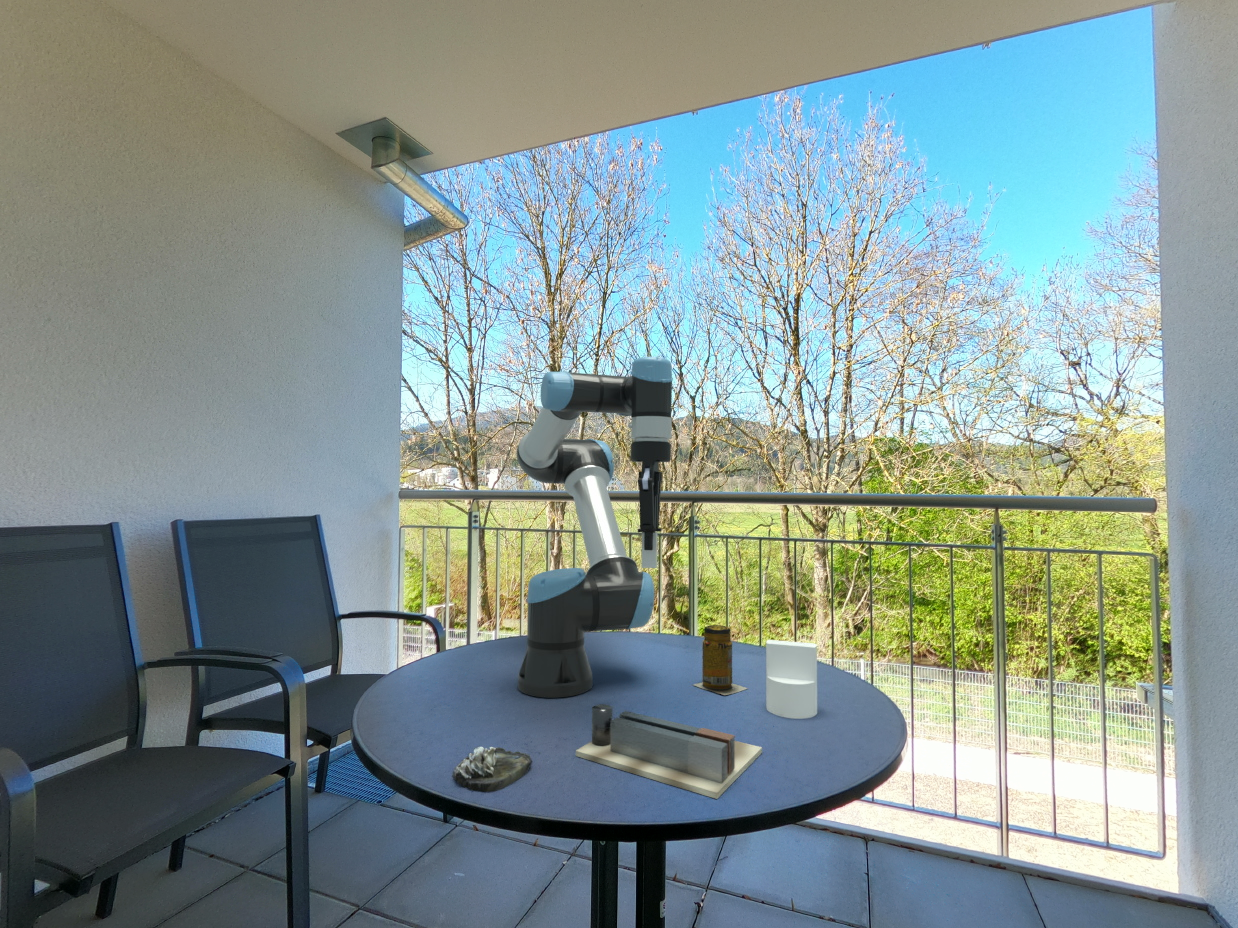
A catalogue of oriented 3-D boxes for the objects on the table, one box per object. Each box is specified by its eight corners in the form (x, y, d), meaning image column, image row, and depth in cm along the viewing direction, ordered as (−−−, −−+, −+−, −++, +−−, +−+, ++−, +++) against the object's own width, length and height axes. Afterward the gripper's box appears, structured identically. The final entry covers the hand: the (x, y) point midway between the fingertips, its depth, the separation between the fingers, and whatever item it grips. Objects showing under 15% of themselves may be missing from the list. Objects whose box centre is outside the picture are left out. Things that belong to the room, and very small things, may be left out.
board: (575, 755, 91) (575, 750, 91) (634, 720, 106) (634, 716, 106) (717, 798, 79) (717, 792, 79) (762, 752, 93) (761, 747, 93)
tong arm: (618, 744, 93) (619, 713, 93) (625, 739, 95) (625, 709, 95) (729, 773, 84) (729, 740, 84) (734, 768, 85) (734, 735, 86)
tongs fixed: (585, 744, 94) (585, 710, 94) (599, 735, 97) (599, 702, 97) (721, 783, 81) (721, 743, 82) (732, 772, 85) (732, 734, 85)
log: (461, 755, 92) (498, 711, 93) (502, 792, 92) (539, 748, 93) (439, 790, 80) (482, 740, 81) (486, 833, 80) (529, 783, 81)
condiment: (716, 679, 129) (716, 622, 130) (748, 689, 123) (747, 629, 123) (692, 685, 125) (692, 626, 125) (724, 696, 118) (724, 634, 119)
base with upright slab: (817, 704, 114) (817, 639, 115) (816, 721, 106) (816, 651, 106) (768, 698, 117) (768, 635, 118) (763, 714, 109) (763, 647, 109)
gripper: (637, 442, 121) (635, 561, 120) (624, 438, 108) (622, 571, 108) (675, 442, 119) (673, 563, 119) (666, 438, 107) (664, 573, 106)
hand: (649, 567), depth 113 cm, fingers closed
